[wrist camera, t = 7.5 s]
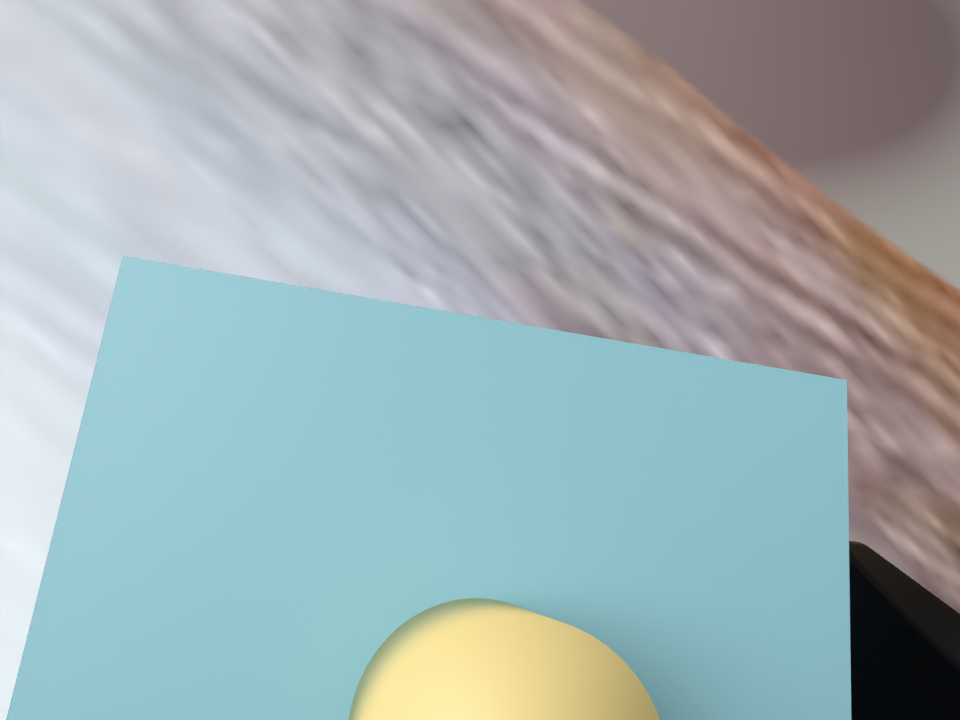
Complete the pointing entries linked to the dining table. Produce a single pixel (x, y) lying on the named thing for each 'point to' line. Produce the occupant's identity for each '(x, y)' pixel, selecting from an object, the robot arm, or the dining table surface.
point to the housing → (434, 521)
